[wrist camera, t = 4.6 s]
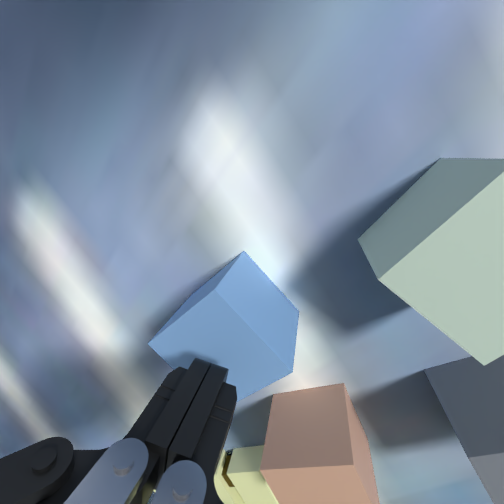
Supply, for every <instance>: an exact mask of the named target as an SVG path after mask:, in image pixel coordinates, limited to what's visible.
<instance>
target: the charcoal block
mask: <svg viewBox="0 0 504 504" xmlns="http://www.w3.org/2000/svg"><path fill="white" fill-rule="evenodd" d="M424 372H425V374H426V376H427V378H428V380H429V382H430V384H431V385H432V387H433V389H434V391H435V393H436V395H437V397H438V399H439V401H440V403H441V405H442V407H443V409H444V411H445V413H446V415H447V417H448V419H449V421H450V423H451V425H452V427H453V429H454V431H455V433H456V435H457V437H458V439H459V441H460V443H461V445H462V447H463V449H464V451H465V453H466V455H467V457H468V459H469V460H470V462H471V464H472V466H473V468H474V469H475V471H476V473H477V475H478V476H479V478H480V480H481V482H482V483H483V485H484V487H485V489H486V491H487V492H488V494H489V496H490V498H491V499H492V501H493V503H494V504H504V355H502V356H501V357H499V358H497V359H495V360H494V361H492V362H490V363H488V364H487V365H485V366H484V365H483V364H481V363H480V362H479V361H478V360H476V359H475V358H474V357H473V356H472V357H468V358H464V359H461V360H457V361H453V362H450V363H446V364H442V365H439V366H435V367H431V368H428V369H424Z"/></svg>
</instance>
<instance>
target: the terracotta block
mask: <svg viewBox="0 0 504 504" xmlns="http://www.w3.org/2000/svg"><path fill="white" fill-rule="evenodd" d="M260 471H261V473H262V475H263V477H264V478H265V480H266V482H267V484H268V485H269V487H270V489H271V490H272V492H273V494H274V496H275V497H276V499H277V501H278V503H279V504H380V503H379V498H378V492H377V487H376V481H375V476H374V471H373V465H372V460H371V454H370V449H369V444H368V439H367V436H366V434H365V432H364V429H363V427H362V425H361V422H360V420H359V418H358V415H357V413H356V411H355V409H354V406H353V404H352V402H351V399H350V397H349V395H348V392H347V390H346V388H345V385H344V383H341V384H335V385H328V386H322V387H316V388H310V389H303V390H297V391H291V392H284V393H278V394H273V398H272V404H271V410H270V415H269V421H268V426H267V432H266V438H265V443H264V449H263V455H262V460H261V466H260Z"/></svg>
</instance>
